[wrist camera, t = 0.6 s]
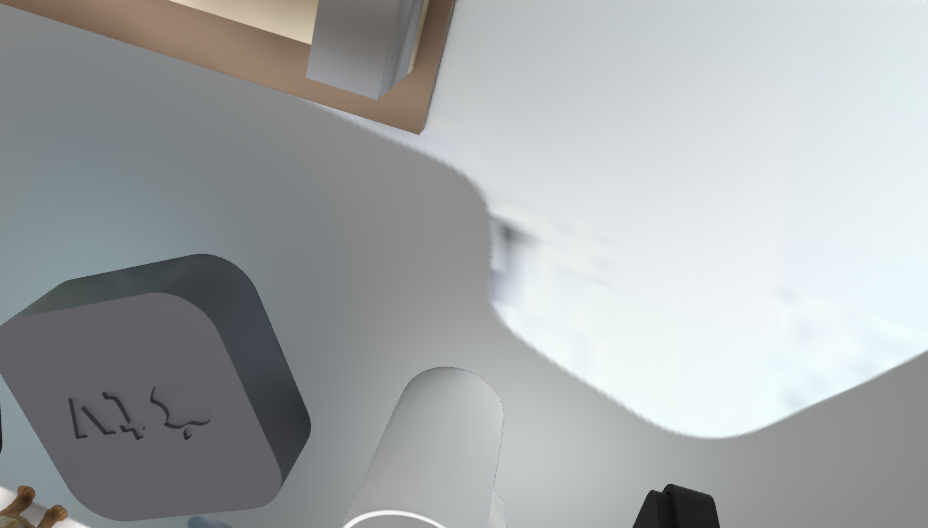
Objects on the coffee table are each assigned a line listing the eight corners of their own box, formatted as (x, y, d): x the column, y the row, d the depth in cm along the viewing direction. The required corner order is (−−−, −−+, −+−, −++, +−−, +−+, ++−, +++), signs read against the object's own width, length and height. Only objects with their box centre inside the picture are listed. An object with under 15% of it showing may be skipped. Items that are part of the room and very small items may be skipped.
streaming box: (240, 242, 43) (196, 283, 38) (325, 447, 48) (296, 504, 43) (35, 285, 46) (-28, 326, 42) (135, 469, 52) (90, 524, 47)
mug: (374, 391, 45) (303, 543, 34) (463, 342, 43) (416, 489, 32) (473, 506, 48) (434, 680, 37) (562, 466, 45) (548, 641, 34)
